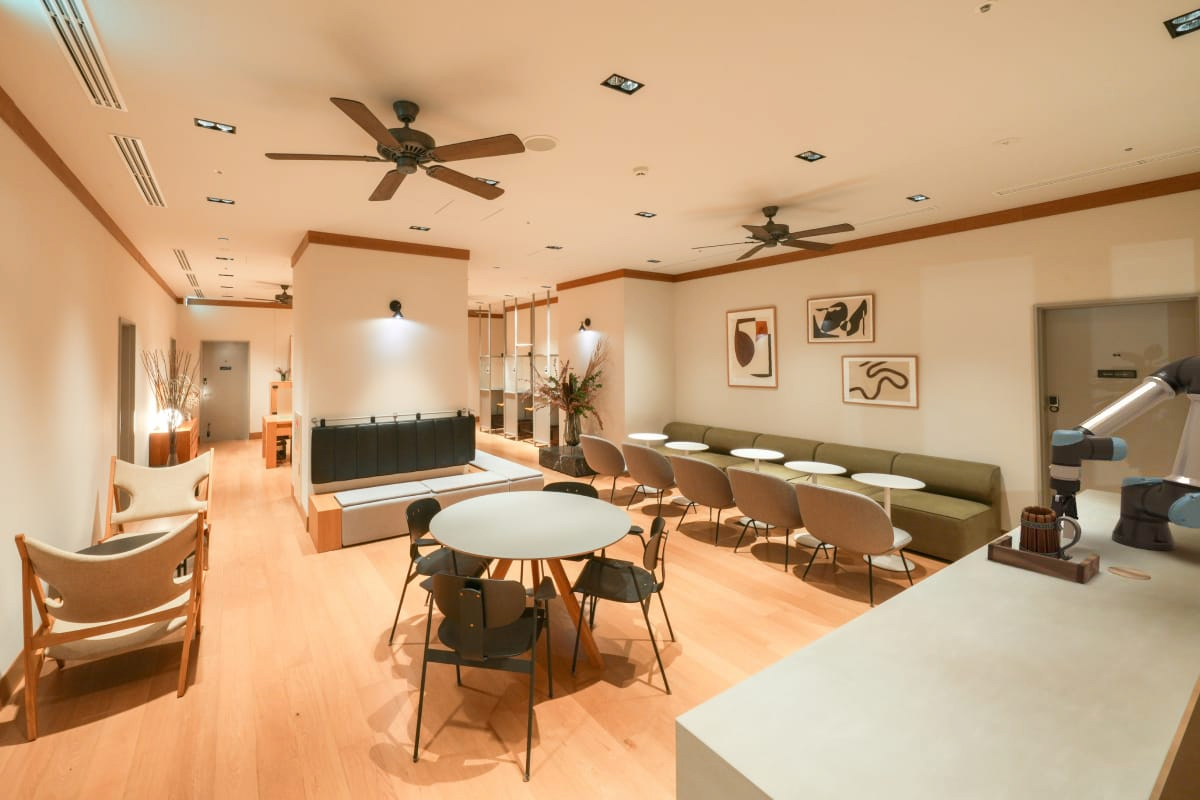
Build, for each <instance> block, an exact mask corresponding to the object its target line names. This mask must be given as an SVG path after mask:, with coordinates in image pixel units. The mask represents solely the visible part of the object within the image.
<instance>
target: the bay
mask: <svg viewBox="0 0 1200 800" xmlns="http://www.w3.org/2000/svg"><path fill="white" fill-rule="evenodd" d="M986 559H988V560H987V561H990V560H991V561H990V562H995V563H999V564H1002V565H1003V564H1004V565H1007V566H1011V567H1014V568H1019V569H1023V570H1027V571H1031V572H1034V573H1037V574H1038V573H1039V574H1043V575H1047V576H1050V577H1054V578H1059V579H1063V580H1067V581H1071V582H1075V583H1078V584H1083V585H1084V584H1085V583H1087V582H1088V581H1089V580H1090V579H1091V578H1093V577H1094V576H1095V575H1097V574H1098V573H1099V572H1100V561H1101V555H1100V554H1097V553H1092V554H1091V555H1088V557H1086V558H1085V559H1083V560H1081V562H1079V563H1078V562H1073V561H1071V560H1068V561H1065V560H1063V559H1061V558H1060V559H1056V558H1052V557H1048V556H1043V555H1039V554H1034V553H1030V552H1026V551H1021V550H1019V549H1017V548H1013V535H1005V536H1004V535H1003V536H1002V537H1000V538H998V539H997V540H994V541H992V542H990V543H988V544H987V558H986Z"/></svg>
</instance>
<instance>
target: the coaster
mask: <svg viewBox="0 0 1200 800" xmlns="http://www.w3.org/2000/svg"><path fill="white" fill-rule="evenodd" d="M1107 571H1108V572H1109V573H1111V574H1113V575H1117V576H1119V577H1122V578H1127V579H1131V580H1141V581H1143V580H1147V581H1148V580H1151V579H1152V575H1151V574H1149V573H1148V572H1145V571H1143V570H1140V569H1135V568H1130V567H1124V566H1108V567H1107Z"/></svg>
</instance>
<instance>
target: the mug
mask: <svg viewBox="0 0 1200 800" xmlns="http://www.w3.org/2000/svg"><path fill="white" fill-rule="evenodd" d="M1050 508H1051V507H1050ZM1050 508H1048V507H1046V506H1040V505H1033V506H1032V505H1029V506H1023V508H1022V510H1021V514H1020V537H1019V541H1018V542H1019V543H1018V550H1021V551H1026V552H1030V553H1034V554H1039V555H1043V556H1048V557H1052V558H1056V559H1061V560H1065V561H1071V559H1072V558H1074V557H1073V555H1072V554H1065V551H1066V550H1069V549H1070V548H1072V547H1073V546H1075V545H1076V544H1077V543H1078V542H1079V541H1080V540H1081V536H1082V527H1081V525H1080V523H1079V522H1078V520H1075V519H1073V518H1071V517H1067V516H1065V515H1063V516H1062V517H1060V518H1058V519H1057V518H1056V513H1055V511H1053V510H1052V509H1050ZM1064 521H1067V522H1069V523H1071V524H1072V526H1073V527H1074V529H1075V530H1074V539H1072V540H1071V542H1069V543H1067V544H1065V545H1063V546H1062V547H1061V542H1059V534H1058V531H1059V532H1060V531H1061V532H1063V529H1064V528H1063V526H1062V522H1064Z"/></svg>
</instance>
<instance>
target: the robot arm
mask: <svg viewBox="0 0 1200 800" xmlns="http://www.w3.org/2000/svg"><path fill="white" fill-rule="evenodd" d="M1185 393H1186V397H1187V398H1188V399H1189V400H1190V401H1191V403H1190V406H1189V411H1188V414H1187V417H1186V421H1185V424H1184V427H1183V431H1182V435H1181V438H1180V442H1179V445H1178V448H1177V452H1176V456H1175V458H1174V459H1175V460H1174V463H1173V466H1172V470H1171V474H1169V475H1168V476H1165V477H1152V476H1126V477H1124V478H1122V481H1121V486H1120V507H1119V508H1120V509H1119V510H1120V511H1119V519H1118V521H1117V523H1116V525H1115V526H1114V528H1113V530H1112V532H1111V539H1112V541H1114V542H1116V543H1119V544H1121V545H1125V546H1129V547H1134V548H1138V549H1144V550H1153V551H1163V552H1164V551H1167V550H1168V551H1173V549H1174V548H1176V541H1175V539H1174V535H1173V534H1172V530H1171V528H1170V525H1169V523H1172V524H1174V525H1176V526H1180V527H1183V528H1185V527H1186V528H1189V529H1194V530H1195V529H1197V530H1198V529H1199V530H1200V355H1189V356H1185V357H1181V358H1178V359H1176V360H1174V361H1172V362H1169V363H1167V364H1165V365H1163V366H1162V367H1160V368H1158V369H1157V370H1154V371H1153V372H1152V373H1150V374H1148V375H1147V376H1146V377H1144V378H1143V379H1142V383H1140V384H1139V385H1137V386H1136V387H1135V388H1133V389H1132V390H1130V391H1129V392H1127V393H1126V394H1124V395H1122V396H1121V397H1119V398H1118V399H1117V400H1115V401H1113V402H1111V404H1109V405H1107V406H1105V407H1103V409H1101V410H1100V411H1098V412H1097V413H1095V414H1094V415H1092V416H1090V417H1089V418H1088V419H1086V420H1085V421H1082V422H1081V423H1080V424H1078V425H1077V426H1075V427H1073V428H1072V429H1070V430H1069V429H1057V430H1054V431H1053V432H1052V438H1051V443H1050V445H1051V451H1050V454H1051V455H1050V465H1049V466H1048V469H1049V470H1050V476H1051V477H1049V488H1050V489H1052V490H1055V491H1056V494H1052V495H1051V496H1052V498H1051V504H1050V509H1052V510H1053V511H1055V513H1056V518H1057V519H1058V518H1060V517H1062V516H1067V517H1071V518H1073V519H1075V520H1076V521H1079V514H1078V506H1077V497H1076V494H1077V492H1081V480H1080V479H1081V478H1082V463H1083V461H1099V462H1102V461H1103V462H1107V461H1108V462H1114V461H1115V462H1119V461H1123V460H1125V459H1126V457H1128V454H1129V446H1128V444H1127V442H1126V440H1124V439H1122V438H1120V437H1112V436H1110V435H1111V434H1114V432H1116V431H1117V430H1119V429H1121V428H1122V427H1124V426H1125V425H1127V424H1129V423H1130V422H1132V421H1133V420H1135V419H1136V418H1138V417H1140V416H1141V415H1143V414H1144V413H1146V412H1147V411H1149V410H1150V409H1152V408H1154V407H1155V406H1156V405H1159V404H1160V403H1162V402H1163V401H1165V400H1172V399H1175V398H1176V397H1178V396H1179V395H1183V394H1185ZM1062 527H1063V528H1064V529H1063V530H1062V531H1060V532H1059V531H1058V534H1059V542H1060V543H1061V540H1062V538H1064V539H1067V540H1073V539H1074V536H1075V529H1074V527H1073V526H1072V524H1071V523H1069V522H1067V521H1063V526H1062ZM1174 550H1175V549H1174ZM1168 551H1167V552H1168Z"/></svg>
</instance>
